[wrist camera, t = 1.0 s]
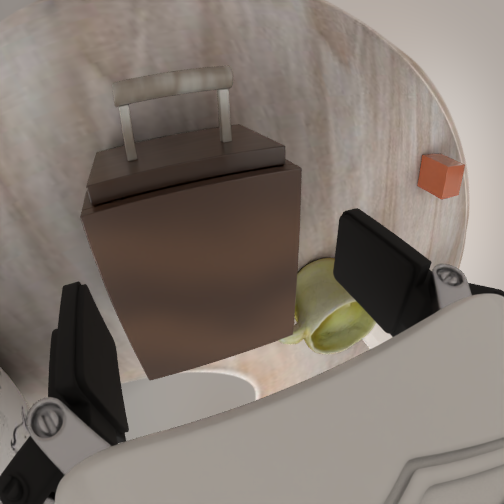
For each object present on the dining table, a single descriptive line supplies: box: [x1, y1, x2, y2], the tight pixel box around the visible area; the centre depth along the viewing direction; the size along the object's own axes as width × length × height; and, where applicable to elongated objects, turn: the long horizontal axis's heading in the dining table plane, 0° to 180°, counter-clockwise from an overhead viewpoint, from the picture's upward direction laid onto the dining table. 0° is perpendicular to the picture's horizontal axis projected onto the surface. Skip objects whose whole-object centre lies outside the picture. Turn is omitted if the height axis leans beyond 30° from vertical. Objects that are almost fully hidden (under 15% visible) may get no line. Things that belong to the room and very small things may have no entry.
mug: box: [278, 258, 376, 354], centre depth 35 cm, size 12×10×10 cm
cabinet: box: [80, 159, 302, 380], centre depth 24 cm, size 15×13×10 cm
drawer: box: [86, 66, 285, 206], centre depth 21 cm, size 18×11×8 cm, turn 3°
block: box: [417, 154, 465, 199], centre depth 35 cm, size 4×4×4 cm
